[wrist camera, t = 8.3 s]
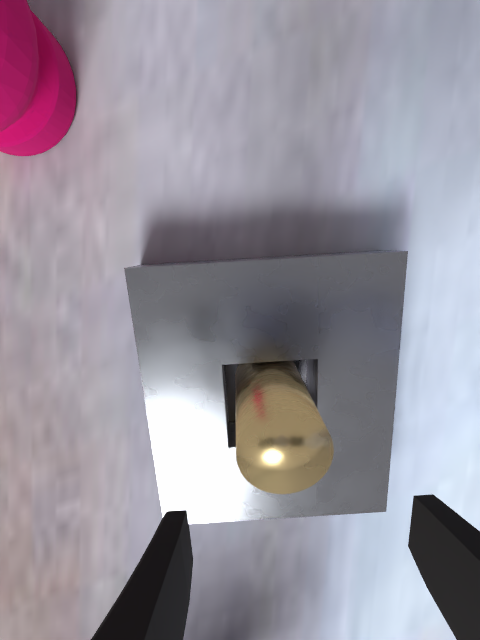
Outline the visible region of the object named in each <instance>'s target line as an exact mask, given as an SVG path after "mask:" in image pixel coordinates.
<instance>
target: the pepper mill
mask: <svg viewBox="0 0 480 640" xmlns="http://www.w3.org/2000/svg"><path fill="white" fill-rule="evenodd" d="M75 106H76V86H75V80H74V75H73V72H72V69H71V66H70V63H69V61H68V58H67V56H66V55H65V53H64V51H63V49H62V47H61V45H60V44H59V43H58V41H57V40H56V39H55V38H54V36H53V35H52V34H51V32H50V31H49V30H48V29H47V28H46V27H45V26H44V25H43V23H42V22H41V21H40V20H39V19H38V18H37V17H36V15H35V14H34V13H33V12H32V11H31V10H30V9H29V6H28V3H27V0H0V151H1V152H3V153H7V154H10V155H16V156H31V155H36V154H40V153H43V152H45V151H47V150H49V149H51V148H52V147H53V146H55V145H56V144H58V142H59V141H60V140H61V139H62V138H63V137H64V136H65V135H66V133H67V131H68V129H69V127H70V125H71V123H72V120H73V118H74V113H75Z"/></svg>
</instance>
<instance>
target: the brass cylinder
mask: <svg viewBox="0 0 480 640" xmlns="http://www.w3.org/2000/svg"><path fill="white" fill-rule="evenodd" d="M235 405H236V461H237V465H238V468H239V470H240V472H241V474H242V475H243V477H244V478H245V479H246V480H247V481H248V482H249V483H250V484H251V485H253V486H254V487H256V488H258V489H260V490H262V491H265V492H269V493H274V494H291V493H296V492H299V491H302V490H305V489H307V488H309V487H311V486H312V485H314V484H315V483H317V482H318V481H319V480H320V479H321V478H322V477H323V476H324V475H325V474H326V472H327V471H328V469H329V467H330V465H331V463H332V460H333V454H334V446H333V441H332V438H331V436H330V434H329V432H328V430H327V428H326V426H325V424H324V422H323V420H322V417H321V415H320V413H319V411H318V409H317V407H316V405H315V403H314V401H313V399H312V397H311V395H310V393H309V391H308V389H307V387H306V385H305V383H304V381H303V379H302V377H301V375H300V373H299V371H298V369H297V367H296V365H295V364H294V362H293V360H291V361H275V362H258V363H242V364H239V365H238V367H237V370H236V374H235Z"/></svg>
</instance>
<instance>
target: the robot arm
mask: <svg viewBox="0 0 480 640" xmlns="http://www.w3.org/2000/svg"><path fill="white" fill-rule="evenodd" d="M408 547H409V549H410V551H411V553H412V556H413V558H414V560H415V562H416V565H417V567H418V569H419V571H420V573H421V575H422V578H423V580H424V582H425V584H426V586H427V588H428V590H429V592H430V593H431V595H432V597H433V599H434V601H435V602H436V604H437V606H438V608H439V609H440V611H441V613H442V615H443V616H444V618H445V620H446V622H447V623H448V625H449V627H450V629H451V630H452V632H453V634H454V636H455V637H456V639H457V640H480V531H478V530H477V529H476V528H475V527H473V526H472V525H471V524H470V523H468V522H467V521H466V520H465V519H463V518H462V517H461V516H460V515H458V514H457V513H456V512H455V511H453V510H452V509H451V508H450V507H448V506H447V505H446V504H444V503H443V502H442V501H441V500H439V499H438V498H437V497H435V496H434V495H419V496H414V499H413V508H412V517H411V526H410V535H409V544H408ZM192 567H193V555H192V547H191V539H190V531H189V523H188V516H187V510H176V511H167V512H166V513H165V514H164V516H163V518H162V520H161V522H160V524H159V526H158V528H157V530H156V532H155V534H154V536H153V538H152V540H151V542H150V543H149V545H148V547H147V549H146V551H145V553H144V554H143V556H142V558H141V560H140V562H139V563H138V565H137V567H136V568H135V570H134V572H133V573H132V575H131V577H130V579H129V580H128V582H127V584H126V585H125V587H124V589H123V590H122V592H121V594H120V595H119V597H118V599H117V600H116V602H115V603H114V605H113V606H112V608H111V609H110V611H109V613H108V614H107V616H106V617H105V619H104V620H103V622H102V624H101V625H100V627H99V628H98V630H97V631H96V633H95V634H94V636H93V637H92V639H91V640H183V636H184V630H185V625H186V619H187V613H188V607H189V600H190V589H191V578H192Z"/></svg>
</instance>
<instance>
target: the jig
mask: <svg viewBox="0 0 480 640" xmlns="http://www.w3.org/2000/svg"><path fill="white" fill-rule="evenodd" d="M407 254H408V251H366V252H350V253H333V254H316V255H299V256H283V257H266V258H249V259H232V260H215V261H199V262H182V263H165V264H148V265H138V266H133V267H128V268H124V269H125V276H126V282H127V289H128V295H129V302H130V308H131V315H132V321H133V328H134V334H135V340H136V347H137V353H138V360H139V366H140V373H141V379H142V386H143V392H144V399H145V405H146V412H147V418H148V425H149V431H150V438H151V444H152V451H153V457H154V463H155V470H156V476H157V483H158V489H159V496H160V502H161V509H162V515H163V516H164V514H165V513H166V512H167V511H176V510H187V516H188V523H189V524H198V523H214V522H230V521H246V520H262V519H277V518H293V517H309V516H325V515H341V514H357V513H372V512H386V506H387V494H388V482H389V470H390V458H391V446H392V434H393V422H394V410H395V398H396V386H397V374H398V362H399V350H400V338H401V326H402V314H403V302H404V290H405V278H406V266H407ZM291 360H307V389H308V391H309V393H310V395H311V397H312V399H313V401H314V403H315V405H316V407H317V409H318V411H319V413H320V415H321V417H322V420H323V422H324V424H325V426H326V428H327V430H328V432H329V434H330V436H331V438H332V441H333V446H334V454H333V460H332V463H331V465H330V467H329V469H328V471H327V472H326V474H325V475H324V476H323V477H322V478H321V479H320V480H319V481H318V482H317V483H315V484H314V485H312V486H311V487H309V488H307V489H305V490H302V491H299V492H296V493H291V494H274V493H269V492H265V491H262V490H260V489H258V488H256V487H254V486H253V485H251V484H250V483H249V482H248V481H247V480H246V479H245V478H244V477H243V475H242V474H241V472H240V470H239V468H238V465H237V461H236V422H229V416H228V403H227V390H226V377H225V365H226V364H242V363H258V362H275V361H291Z"/></svg>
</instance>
